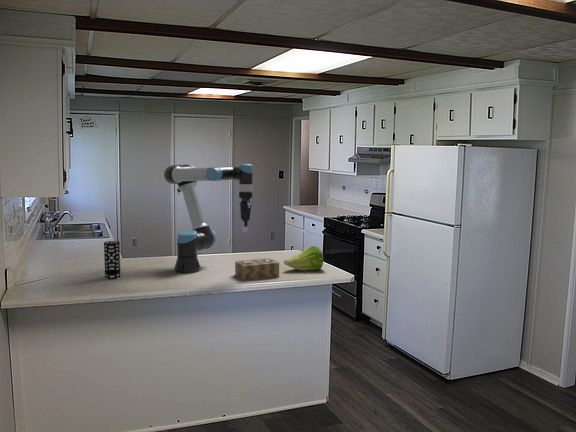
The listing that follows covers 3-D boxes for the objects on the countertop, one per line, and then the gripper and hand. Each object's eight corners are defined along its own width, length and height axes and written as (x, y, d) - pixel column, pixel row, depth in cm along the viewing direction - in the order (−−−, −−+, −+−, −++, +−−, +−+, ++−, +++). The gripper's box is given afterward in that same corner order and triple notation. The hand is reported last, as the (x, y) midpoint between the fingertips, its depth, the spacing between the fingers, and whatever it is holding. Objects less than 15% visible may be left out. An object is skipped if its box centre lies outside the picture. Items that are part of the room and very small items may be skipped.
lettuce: (289, 276, 314) (280, 272, 328) (326, 269, 324) (316, 266, 338) (287, 251, 313) (278, 249, 327) (324, 246, 322) (314, 244, 336)
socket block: (243, 280, 300) (243, 266, 298) (235, 274, 311) (235, 261, 310) (279, 276, 310) (279, 262, 308) (269, 271, 321) (269, 258, 320)
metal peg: (264, 274, 310) (264, 261, 309) (261, 273, 314) (261, 259, 313) (271, 274, 312) (271, 260, 311) (268, 272, 316) (268, 259, 315)
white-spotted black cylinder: (111, 280, 295) (110, 244, 292) (101, 277, 299) (100, 242, 296) (123, 277, 302) (122, 242, 299) (113, 274, 306) (112, 240, 303)
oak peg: (245, 276, 305) (245, 263, 303) (242, 275, 308) (242, 261, 307) (252, 276, 307) (252, 262, 305) (249, 274, 310) (249, 260, 309)
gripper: (256, 192, 301) (255, 233, 305) (247, 189, 313) (246, 229, 316) (243, 192, 298) (242, 234, 301) (235, 190, 310) (234, 230, 313)
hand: (244, 231), depth 309 cm, fingers closed
